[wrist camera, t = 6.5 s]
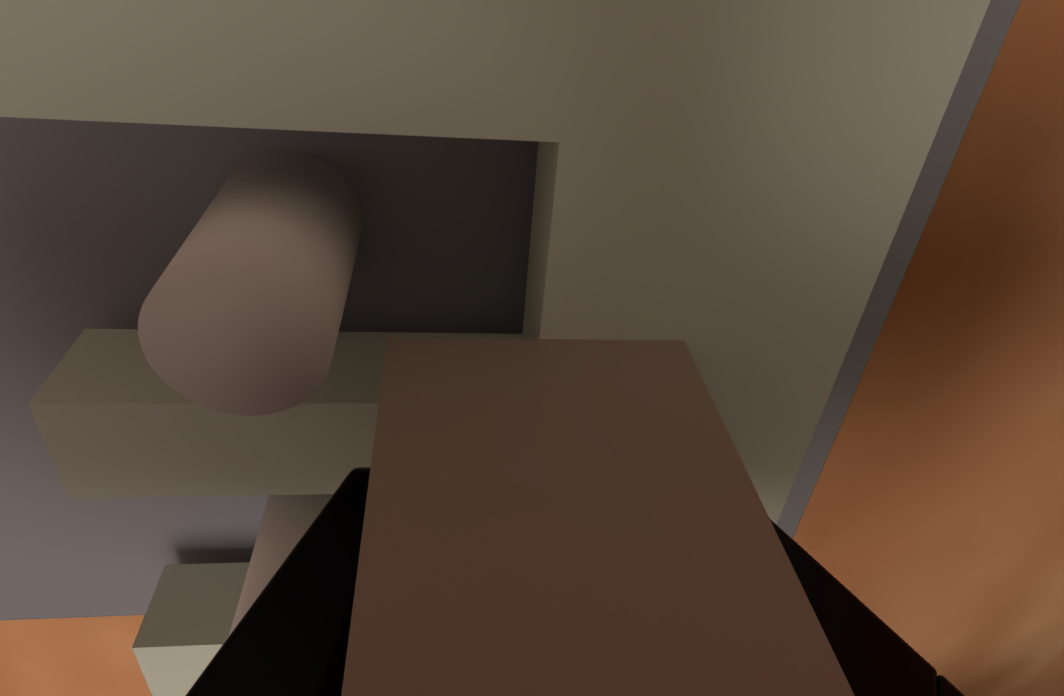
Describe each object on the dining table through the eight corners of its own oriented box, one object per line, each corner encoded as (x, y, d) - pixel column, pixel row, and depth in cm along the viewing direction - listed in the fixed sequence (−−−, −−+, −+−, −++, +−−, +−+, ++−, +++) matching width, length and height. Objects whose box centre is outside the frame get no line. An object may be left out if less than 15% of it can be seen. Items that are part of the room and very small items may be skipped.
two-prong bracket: (911, -49, 8) (1906, 167, 2) (690, 606, 15) (828, 1041, 9) (-73, -132, 7) (-2291, -65, 1) (185, 624, 13) (10, 1138, 8)
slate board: (983, -44, 9) (1276, 11, 6) (753, 553, 16) (831, 731, 13) (-425, -154, 7) (-1127, -160, 4) (-6, 577, 14) (-143, 794, 11)
